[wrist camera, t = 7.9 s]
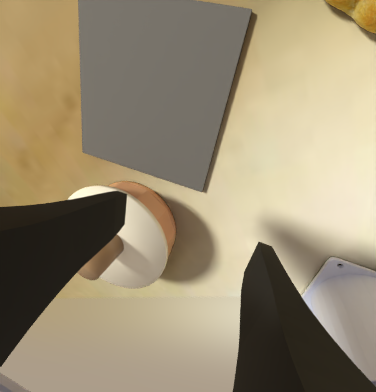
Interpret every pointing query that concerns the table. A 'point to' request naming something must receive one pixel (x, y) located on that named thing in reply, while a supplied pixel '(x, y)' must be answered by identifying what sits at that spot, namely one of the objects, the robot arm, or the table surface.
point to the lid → (128, 246)
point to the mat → (157, 82)
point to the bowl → (152, 207)
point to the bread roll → (358, 11)
